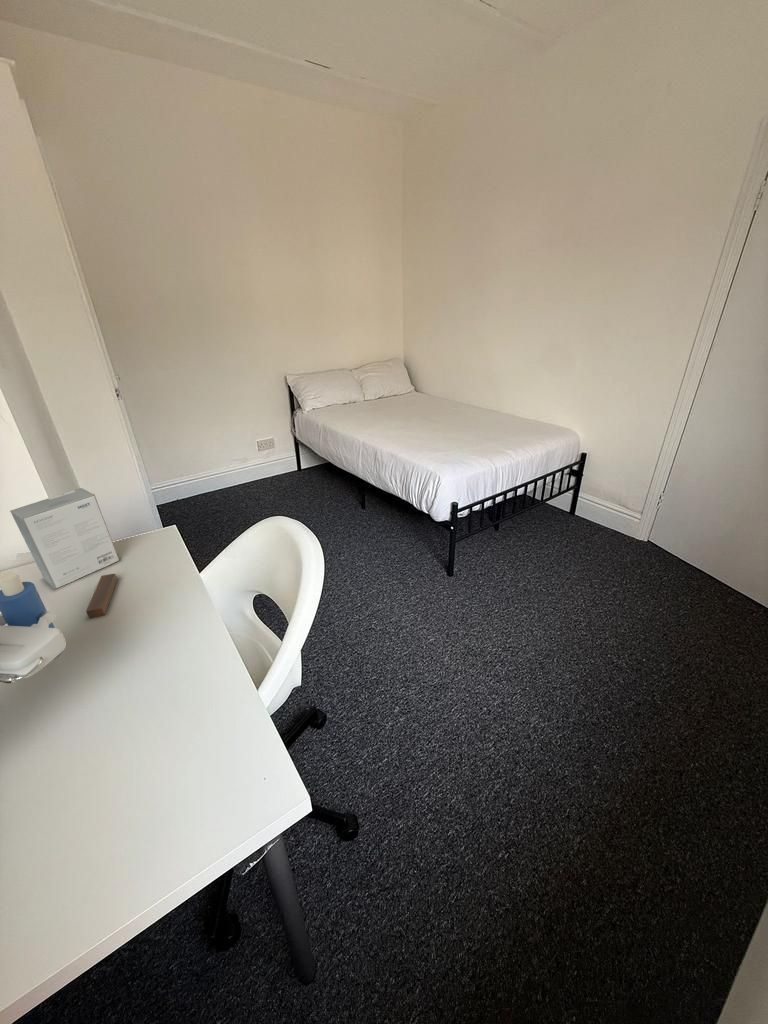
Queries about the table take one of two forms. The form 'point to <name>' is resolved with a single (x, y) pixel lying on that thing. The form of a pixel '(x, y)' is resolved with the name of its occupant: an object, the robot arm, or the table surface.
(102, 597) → the walnut bar
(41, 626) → the robot arm
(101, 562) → the hard drive box
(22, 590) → the blue bottle
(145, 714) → the table surface
